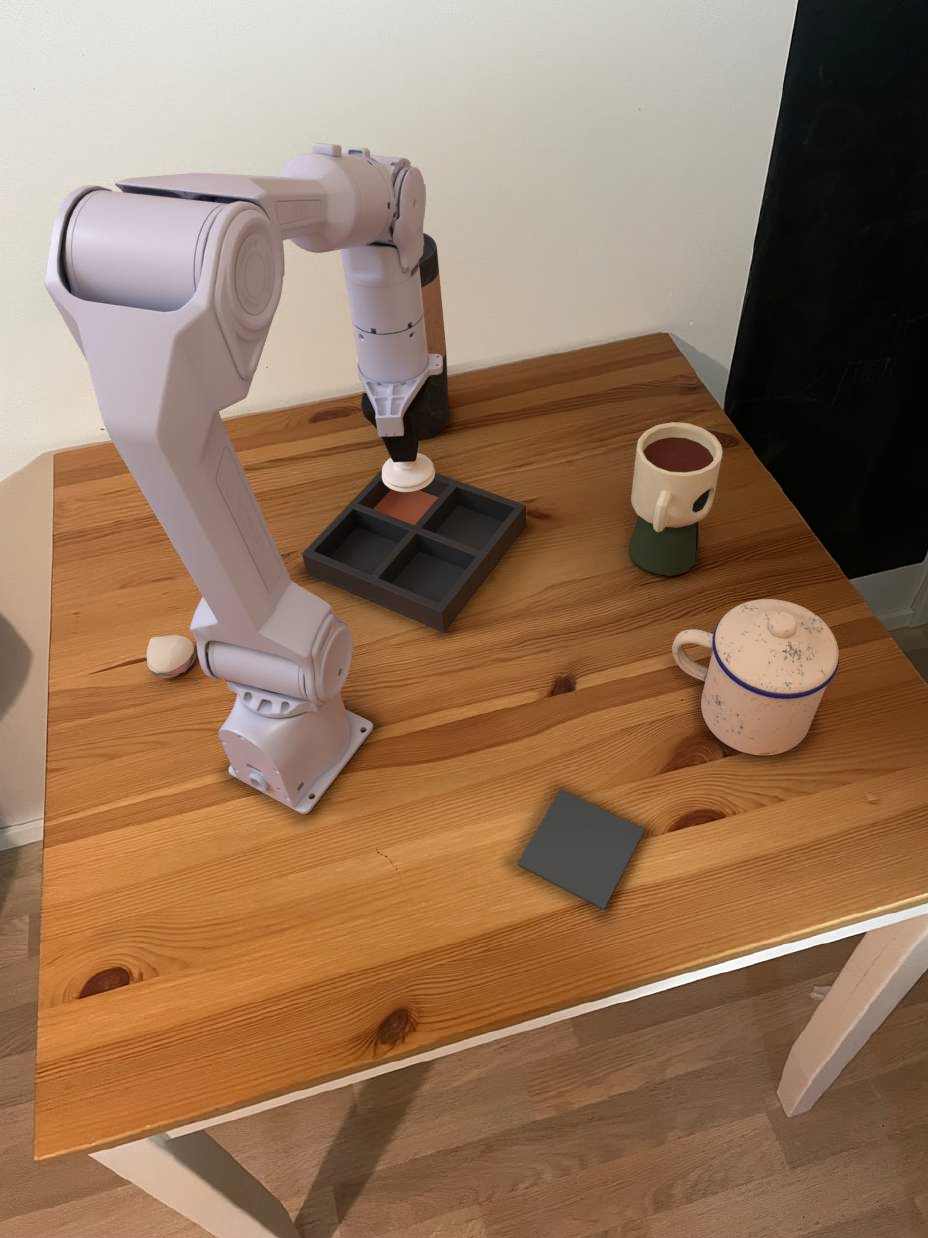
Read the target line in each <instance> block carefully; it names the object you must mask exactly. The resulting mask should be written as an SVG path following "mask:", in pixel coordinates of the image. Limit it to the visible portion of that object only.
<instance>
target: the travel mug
mask: <svg viewBox="0 0 928 1238" xmlns="http://www.w3.org/2000/svg"><path fill="white" fill-rule="evenodd" d="M423 237H424V246H423V255H422V256H421V258H420V259H419V270H420V280H421V290H422V300H423V311H424V321H425V331H426V342H427V352H428V353H429V354H440V355H441V356H442V358H443V371H442V373H440V374H438V375H431V379H430V381H429V382H428V385H427V387H426V389H425V392H424V395H430V397H429V408H428V411H427V414H426V416H425V418H424V419H423V421H422V424H421V427H420V431H419V440H423V439H428V438H431V437H433V436H436V435H438V434H439V433H441V432H442V431H444V430H445V428H446V427H447V425H448V423H449V419H450V409H449V408H450V404H449V403H450V402H449V382H448V379H449V378H448V358H447V357H448V356H447V343H446V342H447V341H446V333H445V332H446V331H445V321H444V308H443V300H442V299H443V298H442V288H441V287H442V285H441V278H440V277H441V275H440V265H439V256H438V255H439V254H438V246H437V243H436V241H435V239H434V238H433V237H432V236H431V235H429V234H427V233H425V232H423Z"/></svg>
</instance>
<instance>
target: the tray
mask: <svg viewBox="0 0 928 1238" xmlns="http://www.w3.org/2000/svg"><path fill="white" fill-rule="evenodd" d="M526 527H527V505H526V504H524V503H522V502H519V501H516V500H512V499H510V498H507V497H504V496H501V495H498V494H497V493H493V492H490V491H487V490H485V489H482V488H479V487H476V486H473V485H470V484H467V483H465V482H462V481H459V480H456V479H453V478H451V477H448V476H445V475H442V474H440V473H437V472H435V476H434V479H433V480H432V482H431V483H430V484H429V485H427V486H426V487H424V488H422V489H420V490H417V491H413V492H399V491H395V490H392V489H390V488H389V487H387V486H386V485H385V484H384V482H383V480H382V469H380V471H379V472H378V473H377V474H376V475H375V476H374V477H373V478H372V479H371V481H369V482H368V484H366V485H365V486H364V487H363V488H362V490H360V492H359V493H357V495H356V496H355V497H354V498H353V499H352V500H351V501H350V502H349V503H348V504H347V506H346V507H344V509H342V510H341V512H340V513H339V514H338V515H336V517H335V518H334V519H333V520H332V521H331V522H330V523H329V524H328V525H327V527H326V528H324V530H323V531H322V532H320V534H319V535H318V536H317V537H316V538H315V539H314V540H313V541H312V542H311V543H310V544H309V546H307V548H306V549H305V550H303V552H302V553H301V556H302V559H303V563H304V566H305V567H304V568H305V570H306V574H307V575H308V576H311V577H314V578H316V579H319V581H320V580H321V581H322V582H325V583H327V584H330V585H332V586H335V587H337V588H339V589H341V590H344V591H346V592H349V593H351V594H353V595H355V596H358V597H360V598H363V599H365V600H367V601H370V602H372V603H374V604H376V605H379V606H381V607H383V608H386V609H388V610H390V611H393V612H395V613H397V614H399V615H402V616H404V617H406V618H409V619H410V620H413V621H416V622H419V623H420V624H423V625H425V626H427V627H430V628H432V629H435V630H437V631H439V632H442V633H445V632H446V631H447V630H448V629H449V628H450V626H451V625H452V623H453V622H454V621H455V620H456V619H457V617H458V616H459V614H460V613H461V611H462V610H464V608H465V607H466V605H467V604H468V602H469V601H470V600H471V598H472V597H473V596H474V594H475V593H476V592H477V591H478V590H479V588H480V587H481V585H482V584H483V583H484V582H485V580H486V579H487V578H488V576H489V575H490V574H491V572H492V571H493V570H494V569H495V567H496V566H497V565H498V563H499V562H500V561H501V560H502V558H503V557H504V556H505V554H506V553H507V552H508V550H509V549H510V548H511V546H513V544H514V543H515V541H516V540H517V539H518V537H519V536H520V535H521V533H523V531H524V530H525V529H526Z"/></svg>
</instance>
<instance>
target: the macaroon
mask: <svg viewBox="0 0 928 1238" xmlns="http://www.w3.org/2000/svg"><path fill="white" fill-rule="evenodd" d="M197 656H198V653H197V646H196V645H195V644H194V642H193V641H192V640H191V639H189V638H187V637H185V636H183V635H178V634H171V635H161V636H153V637H151V638H150V639H149V642H148V645H147V649H146V663H147V664H146V665H147V667H148V669H149V671H150V672H151V673H152V674H153V675H155V676H156V677H158V678H159V679H170V678H175V677H177V676H179V675H181V674H183V673H186V672H187V670H188V669H189V668H190V667H192V665H193V663H194V662H195V660H196V659H197Z"/></svg>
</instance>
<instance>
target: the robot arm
mask: <svg viewBox="0 0 928 1238" xmlns="http://www.w3.org/2000/svg"><path fill="white" fill-rule="evenodd" d="M310 147H311V149H310V150H311V152H310V153H304V154H300V155H298V156H296V157H295V158H292V159H291V160H289V161H288V162H287V163H286V165H285V166H284V167H283V168H282V169H281V171H280V173H279V174H278V176H274V175H273V176H272V175H255V174H253V175H252V174H235V173H234V174H233V173H232V174H231V173H215V172H214V173H212V172H211V173H210V172H189V173H176V174H163V175H151V176H138V177H129V178H124V179H121V180H119V181H115V182H114V185H115V186H116V188H118V189H119V190H120V191H115V190H114V191H113V190H112V189H111V188H110V189H109V188H107V187H104V186H100V185H95V184H94V185H93V184H90V185H89V184H88V185H83V186H79V187H77V188H75V189H73V190H72V191H71V192H70V193H68V195H66V197H65V198H64V199H63V201H62V202H61V204H60V206H59V208H58V210H57V211H56V215H55V218H54V221H53V224H52V230H51V237H50V243H49V250H48V256H47V264H46V271H45V278H44V287H45V289H46V291H47V293H48V294H49V296H50V298H51V300H52V301H53V303H54V306H55V307H56V309H57V310H58V313H59V314H60V316H61V318H62V319H63V322H64V323H65V325H66V327H67V329H68V330H69V332H70V334H71V336H72V338H73V339H74V341H75V343H76V345H77V347H78V348H79V350H80V352H81V353H82V356H83V357H84V360H86V363H87V366H88V370H89V375H90V378H91V382H92V384H93V388H94V392H95V396H96V400H97V404H98V408H99V412H100V416H101V419H102V422H103V425H104V427H105V429H106V432H107V434H108V437H109V439H110V440H111V442H112V443H113V445H114V447H115V448H116V450H117V452H118V454H119V455H120V457H121V459H122V461H123V462H124V464H125V465H126V468H127V469H128V471H129V472H130V474H131V476H132V477H133V479H134V481H135V483H136V484H137V486H138V488H139V489H140V492H141V493H142V495H143V497H144V498H145V500H146V501H147V503H148V505H149V507H150V508H151V510H152V512H153V514H154V515H155V517H156V518H157V520H158V522H159V524H160V526H161V527H162V529H163V530H164V532H165V535H166V536H167V537H168V539H169V541H170V543H171V544H172V546H173V548H174V549H175V551H176V553H177V555H178V556H179V558H180V560H181V561H182V563H183V565H184V566H185V568H186V570H187V572H188V574H189V575H190V577H191V579H192V580H193V582H194V584H195V585H196V587H197V589H198V590H199V592H200V594H201V596H202V597H201V599H200V600H199V602H198V605H197V607H196V608H195V611H194V613H193V617H192V619H191V622H190V627H189V631H190V632H191V634H192V636H193V637H194V639H195V642H196V654H197V658H198V661H199V665H200V667H201V671H202V672H203V673H204V675H205V676H207V678H211V679H213V680H224V681H225V683H226V685H227V688H228V690H229V691H231V692H234V693H235V694H236V698H235V700H234V705H233V707H232V709H231V711H230V713H229V715H228V717H227V718H226V719H225V721H224V722H223V724H222V725H221V727H220V728H219V730H218V731H217V737H218V740H219V742H220V745H221V746H222V749H223V751H224V753H225V755H226V757H227V759H228V761H229V764H230V765H229V767H228V773H229V775H230V776H232V777H233V778H236V779H237V780H239V781H240V782H243V783H245V784H246V785H248V786H250V787H252V788H254V789H255V790H257V791H259V792H261V793H262V794H264V795H266V796H268V797H270V798H272V799H273V800H276V801H278V802H279V803H281V804H283V805H284V806H286V807H288V808H289V809H291V810H293V811H295V812H297V813H299V814H301V815H307V814H309V813H310V812H311V811H312V810H313V809H314V807H315V806H316V804H317V803H318V802H319V801H320V799H321V798H322V797H323V795H324V794H325V793H326V791H327V790H328V789H329V788H330V786H331V785H332V783H334V781H335V780H336V778H337V777H338V776H339V775H340V773H341V772H342V771H343V769H344V768H345V767H346V765H348V763H349V761H350V760H351V759H352V757H353V756H354V755H355V754H356V753H357V751H358V749H360V747H361V745H362V744H363V743H364V742H365V741H366V739H367V738H368V736H370V734H371V733H372V731H373V729H374V724H373V722H372V721H370V720H368V719H366V718H364V717H362V716H360V715H358V714H356V713H354V712H352V711H350V710H348V709H346V708H345V703H344V699H343V697H342V692H341V691H342V689H343V687H344V686H345V684H346V681H347V678H348V677H349V674H350V670H351V667H352V663H353V662H352V661H353V657H354V655H353V654H354V638H353V633H352V632H351V630H350V627H349V624H348V623H347V621H346V620H345V619H344V618H341V617H338V616H337V615H336V613H335V611H334V609H333V606H332V605H331V604H330V603H329V602H327V601H326V600H324V599H322V598H321V597H319V596H318V595H316V594H314V593H312V592H311V591H309V590H307V589H306V588H305V587H303V586H300V585H299V584H298V583H296V582H295V581H293V580H292V578H291V576H290V573H289V572H288V569H287V567H286V564H285V562H284V560H283V557H282V555H281V552H280V550H279V548H278V545H277V543H276V541H275V539H274V536H273V534H272V532H271V529H270V527H269V525H268V523H267V521H266V517H265V516H264V514H263V511H262V508H261V506H260V504H259V502H258V500H257V498H256V495H255V492H254V490H253V488H252V485H251V483H250V481H249V478H248V476H247V474H246V471H245V469H244V468H243V464H242V462H241V460H240V458H239V455H238V453H237V451H236V449H235V446H234V444H233V441H232V439H231V437H230V435H229V432H228V430H227V428H226V426H225V423H224V421H223V419H222V416H221V414H220V412H221V411H223V410H225V409H227V408H229V407H232V406H233V405H235V404H237V403H239V402H242V401H243V400H245V399H246V398H247V397H248V394H249V392H250V388H251V385H252V382H253V379H254V376H255V373H256V371H257V369H258V366H259V363H260V360H261V356H262V354H263V351H264V348H265V345H266V341H267V339H268V336H269V332H270V330H271V326H272V323H273V320H274V317H275V314H276V312H277V309H278V307H279V305H280V300H281V296H282V293H283V284H284V277H285V273H286V271H285V265H286V264H285V263H286V262H285V248H284V241H286V240H290V241H291V243H292V244H294V245H295V246H296V247H298V248H300V249H301V250H304V251H307V252H310V253H314V254H322V253H323V254H324V253H328V252H334V251H340V256H341V262H342V268H343V275H344V281H345V287H346V294H347V300H348V305H349V311H350V317H351V325H352V331H353V336H354V342H355V348H356V354H357V363H356V369H357V375H358V379H359V381H360V382H361V385H362V387H363V389H364V391H365V392H363V393H362V394H361V401H360V408H361V412H362V415H363V417H364V418H365V419H366V420H368V422H369V423H371V424H372V426H373V427H374V428H375V429H376V431H377V436H378V438H381V439H382V441H383V444H384V446H385V448H386V451H387V452H388V455H389V458H391V459H392V460H393V462H414V461H416V458H417V453H419V452H418V451H419V440H420V439H419V431H420V427H421V424H422V421H423V419H424V418H425V416H426V414H427V411H428V408H429V397H430V395H424V392H425V389H426V387H427V385H428V382H429V381H430V379H431V375H438V374H440V373H442V371H443V358H442V356H441V355H440V354H429V353H428V352H427V342H426V331H425V321H424V311H423V300H422V290H421V280H420V270H419V259H420V258H421V256H422V255H423V246H424V237H423V233H424V222H425V215H426V207H427V187H426V184H425V181H424V176H423V175H422V174H423V173H422V172H421V170H420V169H419V168H418V167H416V166H413V165H411V161H410V160H409V159H408V158H405V157H399V156H398V157H397V156H385V155H375V154H371V150H370V148H368V147H359V146H350V147H347V149H346V152H342V146H341V144H335V143H323V142H313V143H312V144H311V146H310ZM362 731H364V732H362ZM311 797H314V798H312V799H311Z"/></svg>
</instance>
